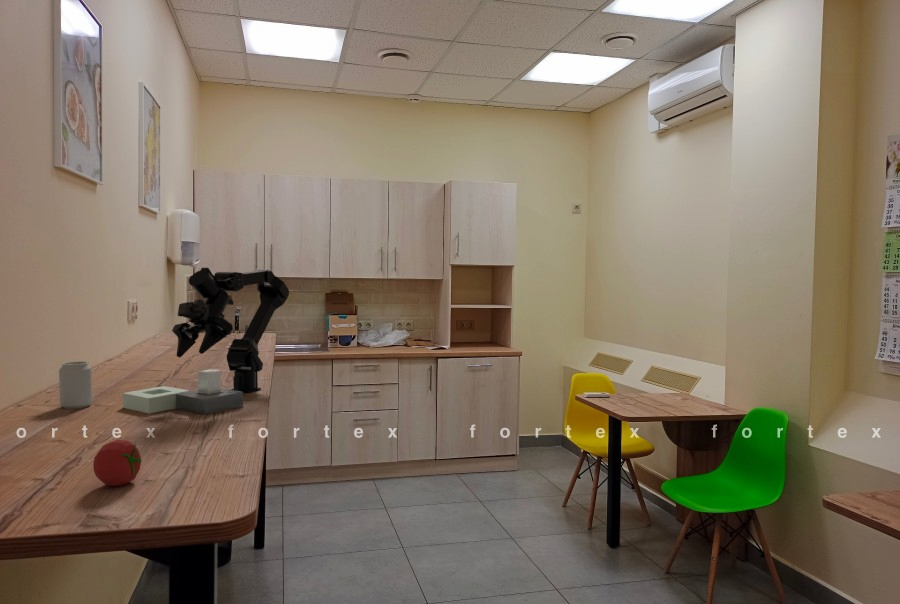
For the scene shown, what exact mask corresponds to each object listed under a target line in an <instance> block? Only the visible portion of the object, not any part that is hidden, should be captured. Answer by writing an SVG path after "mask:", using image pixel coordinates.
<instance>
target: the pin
mask: <svg viewBox="0 0 900 604" xmlns="http://www.w3.org/2000/svg"><path fill="white" fill-rule="evenodd" d="M197 373H198V376H197V377H198V378H197V380H198V385H197V386H198V388H197V390H199V394H201V395H206V396H209V395H214V394H219V393H221V388H222V386H221V385H222V381H221V380H222V377H221V370H219V369H211V368H209V369H205V370H198V372H197Z"/></svg>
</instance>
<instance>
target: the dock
mask: <svg viewBox="0 0 900 604" xmlns="http://www.w3.org/2000/svg"><path fill="white" fill-rule="evenodd" d="M190 391H191V390H188V389H184V388H178V387H171V386H166V385H163V386H157V387H151V388H150V387H149V388H144V389H138V390H133V391H127V392H123V393H122V408H124V409H127V410H131V411H136V412H140V413H145V414H154V413H159V412H160V413H161V412H163V411H164V412H165V411H169V410H174V409H176V394H180V393H185V392H190Z"/></svg>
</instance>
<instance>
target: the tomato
mask: <svg viewBox="0 0 900 604" xmlns="http://www.w3.org/2000/svg"><path fill="white" fill-rule="evenodd" d="M136 445H137V444H136V443H133V442H132V441H129V440H127V439H126V440H125V439H115V440H113V441H110V442H108V443H105V444H104V445H102V446H101V448H100V449H99V450H98V452H97V453H96V455H95V456H94V459H93V465H92V466H93V472H94V475H95V477H96V478H97V479H98V480H99V481H101V483H102V484H104V485H105V486H110V487H122V486H124V485H126V484H129V483H130V482H131V481H134V480H135V479H136V476H137V475H138V473H139V471H140V469H141V465H142V462H143V461H142V457H141V453H140V450H139V448H137V446H136Z"/></svg>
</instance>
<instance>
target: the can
mask: <svg viewBox="0 0 900 604" xmlns="http://www.w3.org/2000/svg"><path fill="white" fill-rule="evenodd" d="M61 365H62V366H60V368H59V370H58V375H59V376H58V380H59V381H58V383H59V385H58V386H59V406H61V407H63V408H64V409H65V410H66V409H67V410H74V409H82V408H87V407H89V406H90V404H92V403H93V379H92V377H93V376H92V375H93V374H92V373H93V372H92V366H90V365H89V362H88V361H86V360H85V361H80V360H79V361H68V362H62V363H61Z"/></svg>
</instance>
